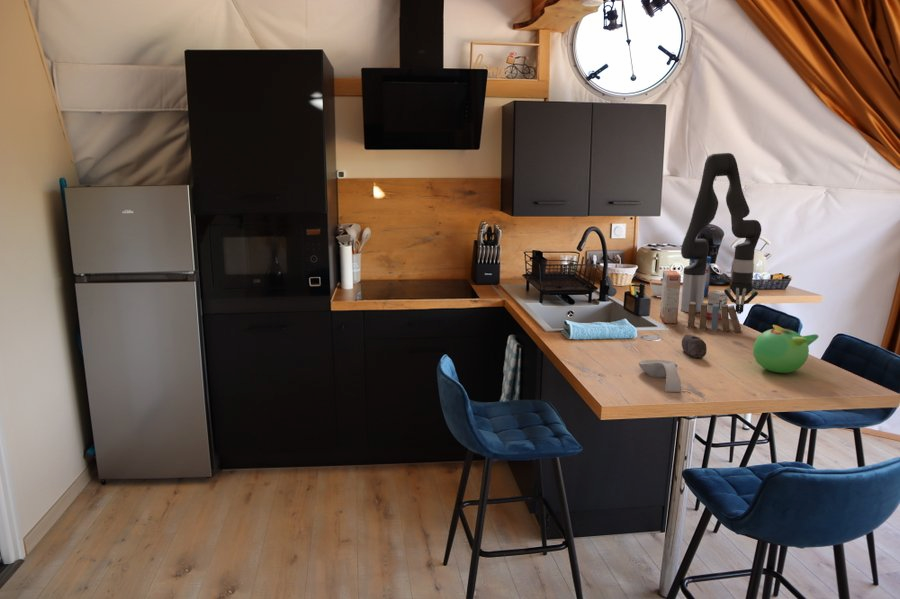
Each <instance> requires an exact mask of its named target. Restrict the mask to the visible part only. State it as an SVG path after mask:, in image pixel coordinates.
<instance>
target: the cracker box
mask: <svg viewBox="0 0 900 599" xmlns="http://www.w3.org/2000/svg"><path fill="white" fill-rule="evenodd" d="M662 278H663V282H662V295H661V298H660V309H659V310H660V312H659V317H660V319H661V321H662V323H663V324H671V323H674V324H673V325H675V324H676V325H677V324H678V316H679V314H678V313H679V303H680V292H681V291H680V290H681V280H682V279H681V278H682V276H681V274H680V273H679V272H678V271H676V270H663V271H662Z"/></svg>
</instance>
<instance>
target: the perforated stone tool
mask: <svg viewBox="0 0 900 599" xmlns="http://www.w3.org/2000/svg"><path fill="white" fill-rule="evenodd" d="M681 348H682V350H683V351H684V352H685V354H687V355H688V356H690V357H692V358H695V359H697V358H700V359H702V358H704V357H705V356H706V354H707V348H708V347H707V344H706V342H705V341H704V340H703V339H701V338H700V337H698V336H696V335H692V334H685V335H684V336H683V337H682V340H681Z"/></svg>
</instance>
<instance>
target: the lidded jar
mask: <svg viewBox="0 0 900 599" xmlns="http://www.w3.org/2000/svg"><path fill="white" fill-rule="evenodd" d="M662 282H663V277H661V278H660V279H653V280H650V291H651V294H653V296H654V295H655V296H661V295H662ZM655 296H654V297H655Z"/></svg>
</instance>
